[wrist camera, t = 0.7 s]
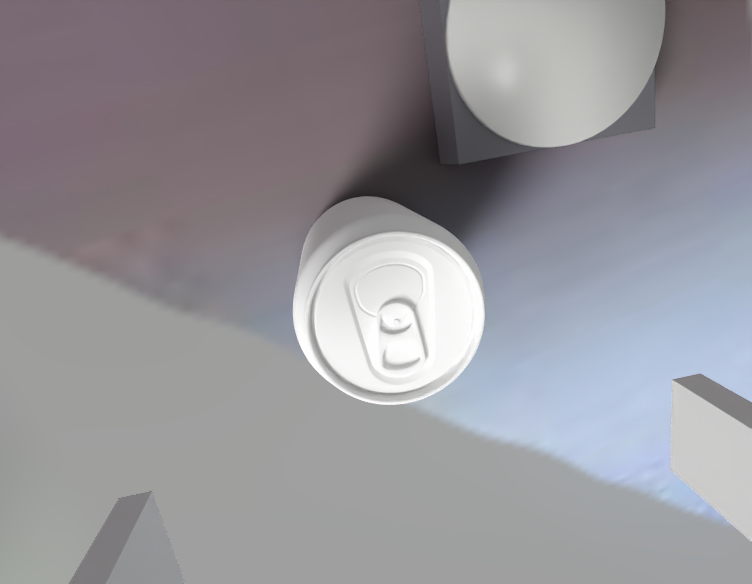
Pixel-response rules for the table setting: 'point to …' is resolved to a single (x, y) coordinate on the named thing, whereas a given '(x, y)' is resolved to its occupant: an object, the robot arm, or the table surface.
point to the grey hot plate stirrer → (538, 72)
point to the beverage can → (386, 302)
